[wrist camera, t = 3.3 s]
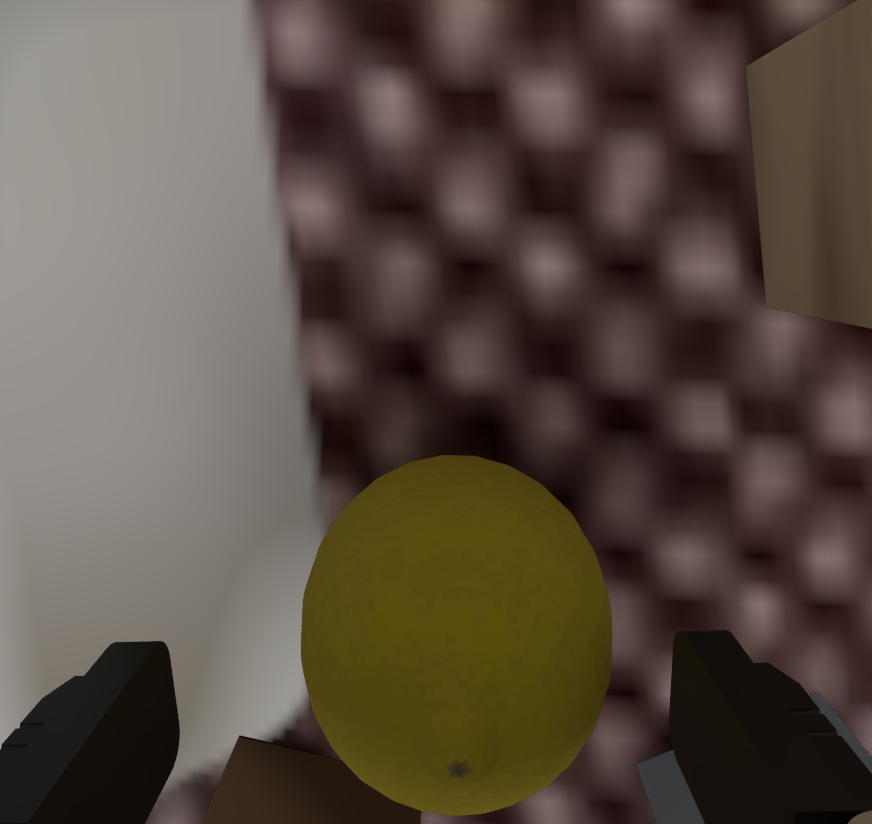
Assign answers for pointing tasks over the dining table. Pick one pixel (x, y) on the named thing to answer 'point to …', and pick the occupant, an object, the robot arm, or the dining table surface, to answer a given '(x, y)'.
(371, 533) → the lemon
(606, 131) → the dining table surface
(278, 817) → the block walnut
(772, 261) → the block oak
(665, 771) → the block slate
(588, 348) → the dining table surface
